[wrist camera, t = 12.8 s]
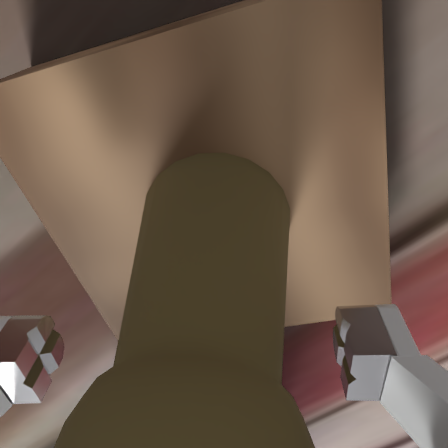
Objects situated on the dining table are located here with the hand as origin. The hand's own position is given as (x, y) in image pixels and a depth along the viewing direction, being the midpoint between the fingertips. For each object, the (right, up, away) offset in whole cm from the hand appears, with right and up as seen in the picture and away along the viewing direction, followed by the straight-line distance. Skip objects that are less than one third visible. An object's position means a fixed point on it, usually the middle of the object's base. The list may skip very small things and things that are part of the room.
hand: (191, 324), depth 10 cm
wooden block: (+1, +6, +9) cm, 11 cm away
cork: (+1, +3, +5) cm, 6 cm away
